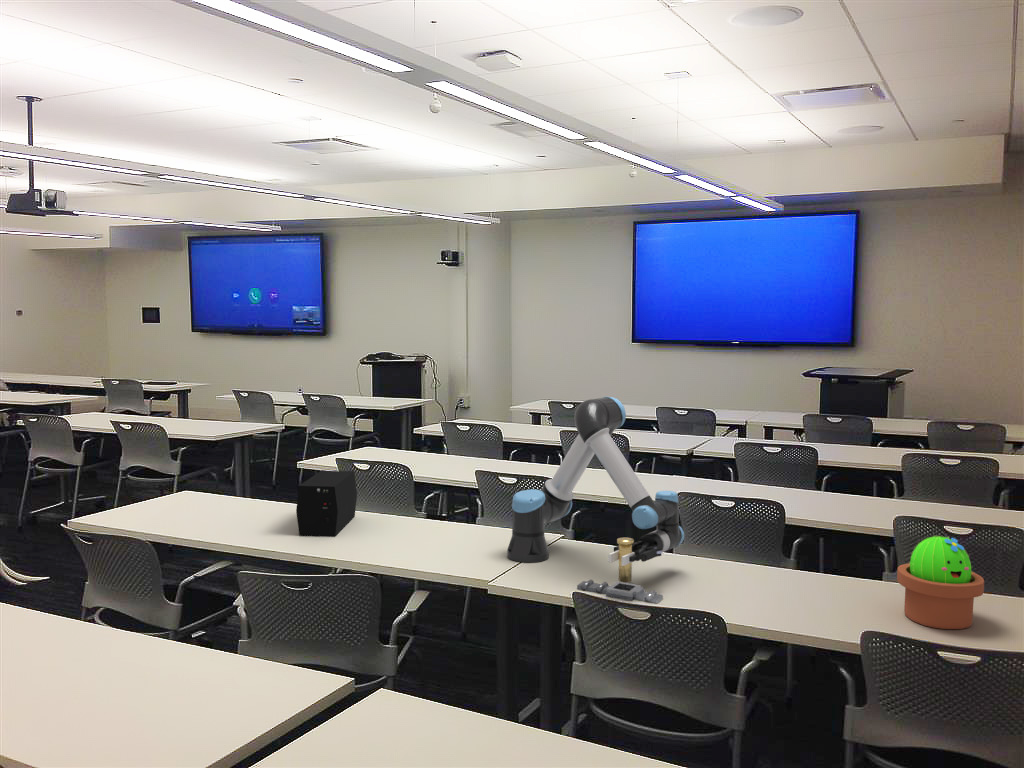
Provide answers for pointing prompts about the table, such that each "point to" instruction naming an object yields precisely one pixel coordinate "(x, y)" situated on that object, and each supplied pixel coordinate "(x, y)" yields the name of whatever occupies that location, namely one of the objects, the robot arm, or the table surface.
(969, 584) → the potted cactus
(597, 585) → the chain end left
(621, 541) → the brass pin
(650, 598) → the chain end right
